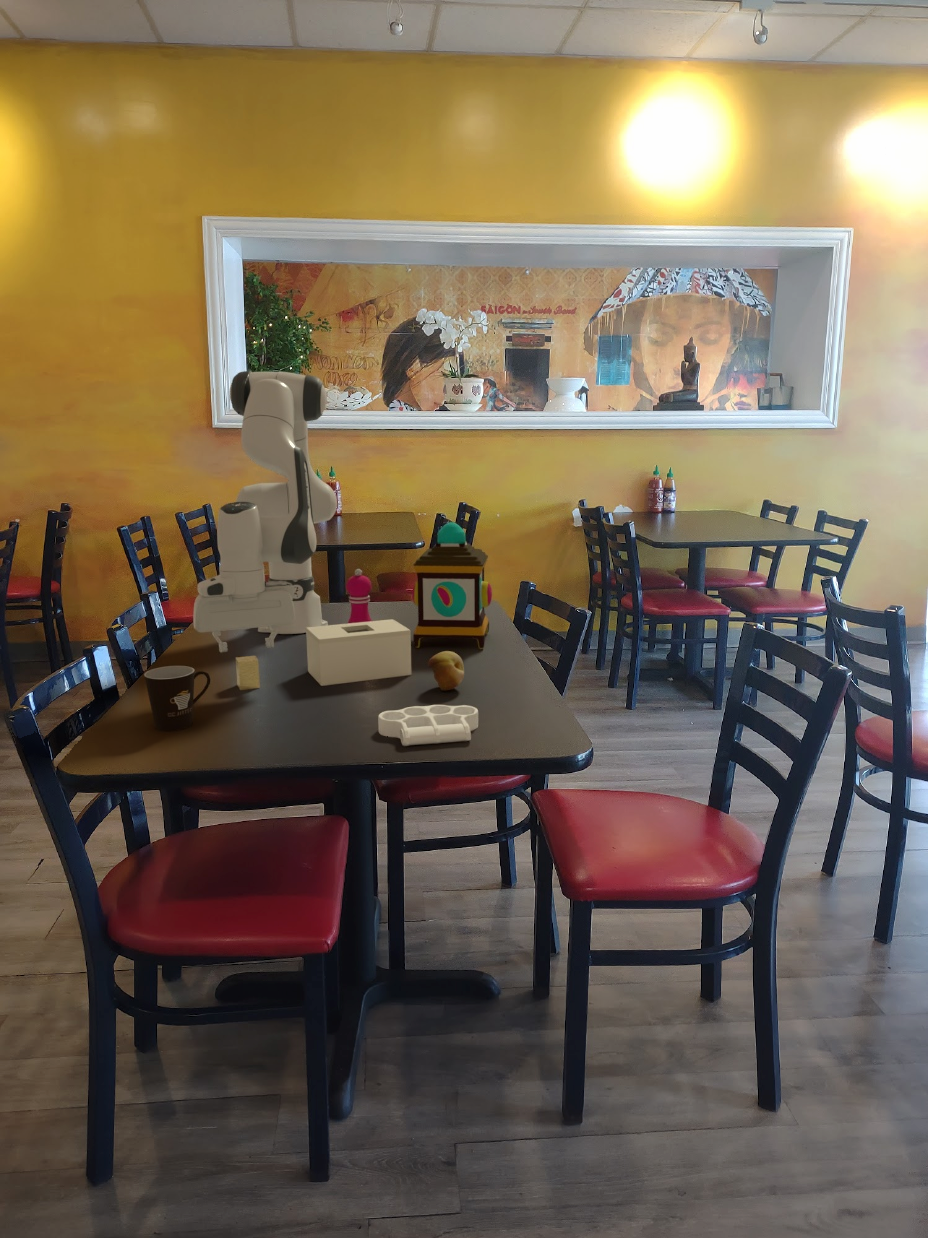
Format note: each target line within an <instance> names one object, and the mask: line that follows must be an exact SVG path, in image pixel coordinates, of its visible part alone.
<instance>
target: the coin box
mask: <svg viewBox="0 0 928 1238" xmlns="http://www.w3.org/2000/svg"><path fill="white" fill-rule="evenodd" d="M411 632H412V631H411V629H409V628H408V627H406V626H405V625H403V624H401V623H400V622H398V621H396V620H395V619H393V618H392V619H383V620H382V619H380V620H372V621H369V622H359V623H348V622H347V623H340V624H328V625H327V626H317V627H306V633H305V634H306V637H305V638H306V654H307V657H306V658H307V672H308V673H309V674H310V675H311V677H313V679H314V680H315V681H316V682H317V683H318V684H319V685H320V686H322V687H323V686H331V685H339V684H347V683H355V682H362V681H364V682H365V681H371V680H372V681H373V680H379V679H387V678H397V677H405V676H406V677H407V676H412V646H411V645H412V643H411V642H412V641H411V640H412V639H411V637H412V636H411V634H412V633H411Z"/></svg>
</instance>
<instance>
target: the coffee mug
mask: <svg viewBox="0 0 928 1238" xmlns="http://www.w3.org/2000/svg"><path fill="white" fill-rule="evenodd" d="M200 675H203V676H205V678H206V683H205V686H204V687H203V689H202V691H201V692H199V694H197V696H195V697H194V693H195V690H194V689H195V679H196V678H197V677H198V676H200ZM143 677H144V680H145V685H146V689H147V693H148V694H147V695H148V700H149V704H150V708H151V714H152V718H153V722H154V728H155V729H156V730H158V731H162V732H175V731H181V730H184V729H185V730H186V729H188V728H189V727H191V726H192V725H193V716H194V714H193V713H194V704H195V703H197V702H198V701H199V700H200V699H201V697H202V696H203V695H204V694H205V693H206V691H207V690H208V689H209V687H210V684H211V677H210V674H209V673H208V672H207V671H202V670H201V671H197V672H196V671H195V668H193V667H192V666H188V665H187V666H186V665H168V666H161V667H157V668H151V669H150V670H147V671H145V672H144V673H143Z"/></svg>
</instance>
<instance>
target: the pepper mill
mask: <svg viewBox="0 0 928 1238" xmlns="http://www.w3.org/2000/svg"><path fill="white" fill-rule="evenodd" d="M371 582H372V581H371V579H369V577H367V576H365V575H363V570H361V569H360V568H356V569H355V570H354V575H353V576H351V577H350V578H348V580H347V581H346V584H345V586H346V587H345V589H346V591H347V593H348V594H349V595H348V602H349V603H350V616H349V619H348V622H347V624H348V623H359V622H369V621H373V620H372V619H371V616H370V612H369V602H370V601H371V599H370V598H371V596H370V595H369V593H370V592H371V591H372V583H371Z"/></svg>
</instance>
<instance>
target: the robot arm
mask: <svg viewBox="0 0 928 1238" xmlns="http://www.w3.org/2000/svg"><path fill="white" fill-rule="evenodd" d="M324 386H325V385H324V382H323V381H322V380H321V379H320V377H318V376H314V375H311V374H306V375H304V374H299V373H295V372H289V371H281V370H280V371H254V372H253V371H252V370H245V371H239V372H237V374H235V375H234V376H233V377H232V380H231V384H230V387H229V398H230V399H229V400H230V403H231V406H232V409H233V410H234V411H235V412H236V414H238V415H240V416H242V417H243V418H242V426H241V432H240V437H241V438H240V440H241V442H240V443H241V447H242V449H243V451H244V453H245V455H246V456H247V457H248V458H249V459H250V461H252V462H253V463H255V464H256V465H257V466H258V467H261V468H263V469H265V470H268V471H270V472H273V473H276V474H278V475H280V476H282V477H284V478H285V479H287V480H288V481H286V482H259V483H255V484H250V485H245V486H243V487H241V489H240V490H239V492H238V494H237V495H236V499H235V500H236V501H235V502H234V501H233V502H229V503H226V504H224V505H221V507H220V508H219V509H218V516H217V525H216V526H217V532H216V533H217V535H216V536H217V537H216V538H217V539H216V540H217V549H218V552H219V555H220V556H219V557H220V563H219V566H218V567H219V568H218V569H219V574H218V575H215V576H213V577H210V578H207V579H205V580H202V581H200V582H199V583H197V592H198V593H199V594H198V595H197V596H196V598H195V599H194V603H193V617H192V620H193V628H194V630H195V631H196V632H198V633H201V634H202V633H212V636H213V638H214V639H215V640H216V641H217V643H218V651H219V652H220V653H226V652H228V643H227V641H222V640H221V639H220V637H221V635H222V632H223V631H224V632H225V631H231V630H232V631H234V630H243V629H254V628H255V629H256V628H257V632H258V633H270V634H269V636H268V637H264V639H265V640H264V641H265V644H264V645H265V647H266V648H267V649H268V648H274V647H275V638H276V636H277V635H279V634H280V635H293V634H295V635H296V634H304V633H305V634H306V627H317V626H327V625H329V624H328V620H324V619H323V615H322V606H321V603H322V602H321V596H320V595H318V594H317V593H316V592H315V591H314V589H315V579H314V576H313V574H312V556H313V555H314V554H315V553H316V550H317V542H318V541H317V534H316V533H317V532H316V529H315V524H320V523H324V522H327V521H330V520H331V519H332V518H333V517H334V515H335V514H336V511H337V509H338V508H337V507H338V499H337V494H336V493H335V491H334V490H333V488H332V487H331V486H330V485H329V484H328V483H326V482H324V481H323V480H322V479H321V478H320V477H319V476H318V475H317V474H316V473H315V471H314V468H313V467H312V464H311V460H310V455H309V453H310V452H309V440H308V439H309V437H308V435H309V433H308V429H309V428H308V422H313V421H317V420H318V419H319V418H321V417H322V416H323V414H324V411H325V409H326V406H327V400H328V399H327V392H326V389H325V387H324ZM264 563H268V572H269V573H268V574H269V576H268V580H266V577H265V565H264ZM221 631H222V632H221Z"/></svg>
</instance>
